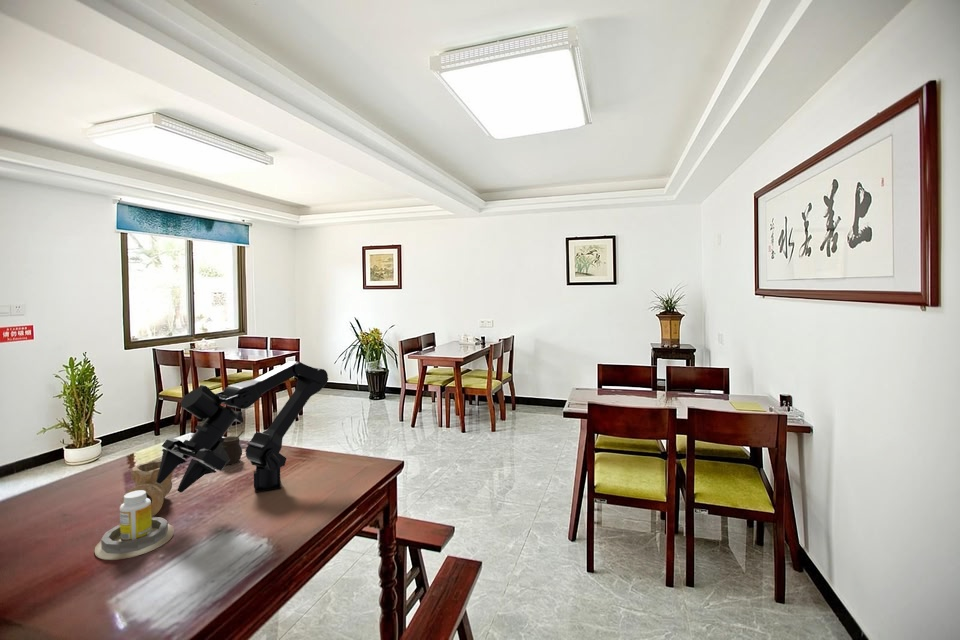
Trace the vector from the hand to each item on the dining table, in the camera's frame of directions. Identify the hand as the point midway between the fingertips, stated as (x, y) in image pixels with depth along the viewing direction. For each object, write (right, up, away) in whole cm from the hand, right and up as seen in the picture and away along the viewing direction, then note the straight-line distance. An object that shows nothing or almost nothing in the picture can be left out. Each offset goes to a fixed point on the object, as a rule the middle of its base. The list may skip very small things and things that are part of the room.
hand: (168, 487), depth 105 cm
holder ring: (-4, -10, -5) cm, 12 cm away
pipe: (-12, -9, +10) cm, 18 cm away
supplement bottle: (-3, -10, -5) cm, 12 cm away
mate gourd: (-8, -7, +41) cm, 43 cm away
